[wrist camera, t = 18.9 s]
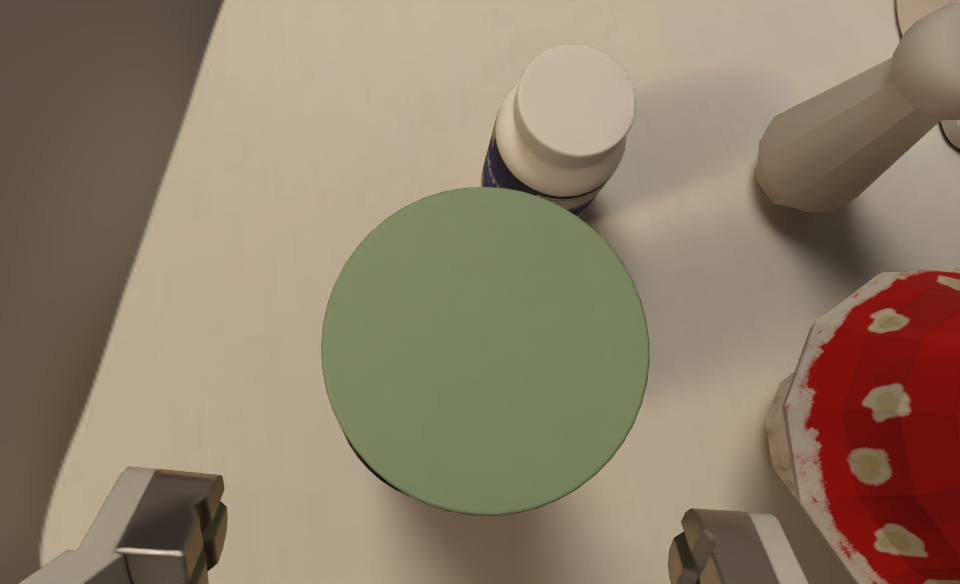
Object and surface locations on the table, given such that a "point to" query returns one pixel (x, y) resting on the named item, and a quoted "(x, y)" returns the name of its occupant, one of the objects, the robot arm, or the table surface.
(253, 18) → the table surface
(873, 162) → the salt shaker
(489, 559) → the table surface
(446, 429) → the green cylinder
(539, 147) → the pill bottle
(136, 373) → the table surface
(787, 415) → the decorative mushroom
